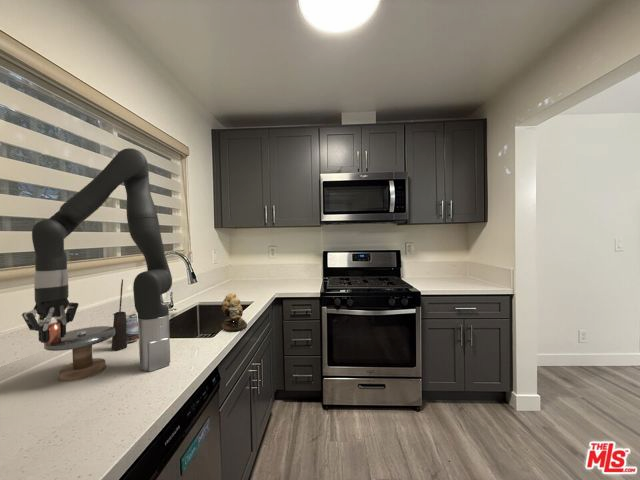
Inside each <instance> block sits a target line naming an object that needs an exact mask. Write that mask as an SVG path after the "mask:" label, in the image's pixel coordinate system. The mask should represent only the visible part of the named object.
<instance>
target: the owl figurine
mask: <svg viewBox="0 0 640 480" xmlns="http://www.w3.org/2000/svg"><path fill="white" fill-rule="evenodd" d="M221 311H222V313H223V314H224V316H226V317H225V319H224V321H223V323H221V329H222V330H223V329H224V330H227V331H226V332H228V331H231V332H232V331H234V332H236V331H243V330H245V329H246V328H247V326H248V324H247V321H245V319H244V318H243V312H244V311H243V307H242V305H241V300H240V298H238V296H237V295H236V293H235V292H229V293H228V294H227V295H226V296H225V298H224V300H222V302H221ZM233 321H236V322H233ZM224 330H223V331H224Z"/></svg>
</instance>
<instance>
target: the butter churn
mask: <svg viewBox="0 0 640 480" xmlns="http://www.w3.org/2000/svg"><path fill="white" fill-rule="evenodd" d="M123 285H124V279H121V283H120V295H119V296H120V298H119V310H118V311H117V312H115V313H112V315H113V325H112V327H114V328H115V335H114V336H113V337H111V345H110V347H111V348H110V350H111V351H115V352H116V351H121V350H125V349H126V348H128V342H127V333H126V332H127V329H126V327H127V324H126V314H127V313H126V311H122V301H123V300H122V298H123V287H124V286H123Z"/></svg>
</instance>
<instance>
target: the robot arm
mask: <svg viewBox="0 0 640 480" xmlns="http://www.w3.org/2000/svg"><path fill="white" fill-rule="evenodd" d="M149 169H150V168H149V163H148V161H147V158H146V156H145V154H144V153H143V152H141V151H140V150H138V149H135V148H131V147H130V148H123V149H121V150H120V151H118V152H117V154H115V156H114V157H113V158H112V159H111V161H110V162H109V163H107V165H106V166H105V167H104V168H103V169H102V170H101V171H100V172H99V173H98V174H97V175H96V176H95V177H94V178H93V179H92V180H91V181H90V182H89V183H87V185H85V186H84V187H83V188H82V189H80V190H79V191H78V192H76V193H75V194H74V195H73V196H72V197H70V198H69V199H68V200H67V201H65V202H64V203H63V204H61V205H60V206H59V207H60V208H59V209H58V211H57V212H55V213H54V214H53V215H52V216H50V217H49V218H48V219H42V220H39V221H38V222H36V223H35V224H34V226H33V227H32V230H31V239H32V245H33V250H34V254H35V258H34V265H35V267H34V268H35V269H34V270H35V271H34V272H35V273H34V278H33V279H34V280H33V282H34V287H33V289H34V302H35V305H34V306H33V309H32V310H30V311H26V312H23V313H22V314H21V316H22V318H23V320H24V321H25V324H26V326H27V327H28V330H29V331H36V332H38V341H39V342H40V343H42V344H44V343H47V342H48V341H49V334H48V330H47V329H48V325H49V324H50V323H52V322H51V321H52V318H53V319H55V321H56V322H60V323H61V338H62V337H64V336H65V335H66V332H67V324H68V323H71V322H73V321H74V318H75V315H76V313H77V310H78V308H79V306H80V305H79V303H78V302H72V301H71V302H69V300H68V298H69V296H70V295H69V273H68V260H67V259H68V258H67V252H65V239H66V238H68V237H69V236H70V234H72V232H73V231H75V229H76V228H77V227H79V225H80V224H81V223H83V222H84V221H85V220H86V219H88V218H89V217H90V216H91V215H93V214H94V213H95V212H96V211H98V210H99V209H100V208H101V207H102V205H104V203H105V202H106V201H107V200H108V198H109V197H110V196H111V194H113V192H115V190H116V189H117V188H118V187H119V186H120V185H122V184H123V185H124V188H125V192H126V221H127V226H128V232H129V235H130V238H131V239H132V241H133V242H134V244H135V246H137V248H138V249H139V251H140V252H141V253H142V255H143V258H144V259H145V260H144V261H145V264H146V271H141V272H140V273H138V274H137V275H136V276H135V277H134V279H133V280H134V281H133V285H132V287H133V288H132V289H133V301H134V309H135V312H136V313H137V321H138V330H139V338H138V354H139V356H138V357H139V369H140V371H148V372H153V371H157V370H159V369H161V368H165V367H168V366H170V363H171V345H170V344H171V343H170V341H171V339H170V315H169V314H170V309H169V306H168V305H166V304H163V303H162V298H161V295H164V294H166V293H168V292H169V291H170V290H171V288H172V285H173V276H172V273H171V270H170V267H169V264H168V260H167V257H166V254H165V250H164V249H165V248H164V243H163V238H162V234H161V227H160V222H159V218H158V217H159V216H158V212H157V209H156V206H155V203H154V199H153V197H152V194H151V187H150V177H149V175H150V174H149V173H150V172H149V171H150V170H149ZM37 315H38V319H37V318H36V317H37Z"/></svg>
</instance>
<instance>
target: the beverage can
mask: <svg viewBox="0 0 640 480" xmlns="http://www.w3.org/2000/svg"><path fill="white" fill-rule="evenodd" d="M126 324H127V327H126V329H127V332H126V333H127V343H132V342H135V341H137V340H139V330H138V314H136V313H135V312H131V313H126Z"/></svg>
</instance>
